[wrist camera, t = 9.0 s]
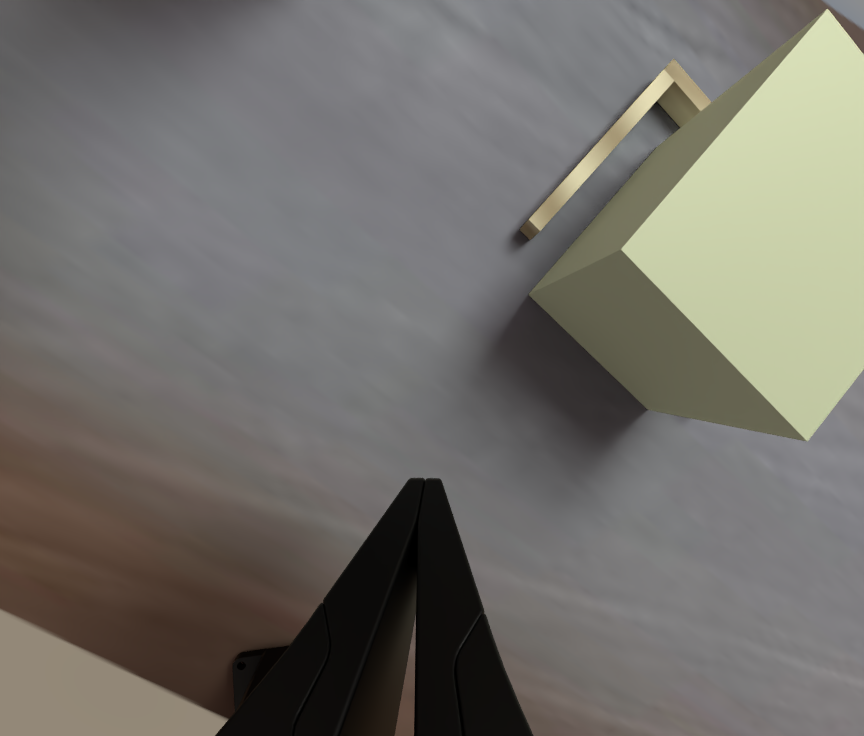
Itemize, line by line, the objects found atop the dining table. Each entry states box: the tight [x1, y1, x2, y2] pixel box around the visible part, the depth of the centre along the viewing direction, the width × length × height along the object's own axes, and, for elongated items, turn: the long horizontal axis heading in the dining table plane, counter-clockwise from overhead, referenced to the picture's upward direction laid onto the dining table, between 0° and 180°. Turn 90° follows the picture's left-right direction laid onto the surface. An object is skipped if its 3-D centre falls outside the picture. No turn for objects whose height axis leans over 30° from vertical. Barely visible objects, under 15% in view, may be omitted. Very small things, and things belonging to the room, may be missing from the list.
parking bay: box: [519, 59, 712, 240], centre depth 22 cm, size 14×18×2 cm
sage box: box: [528, 9, 864, 441], centre depth 18 cm, size 14×12×9 cm
